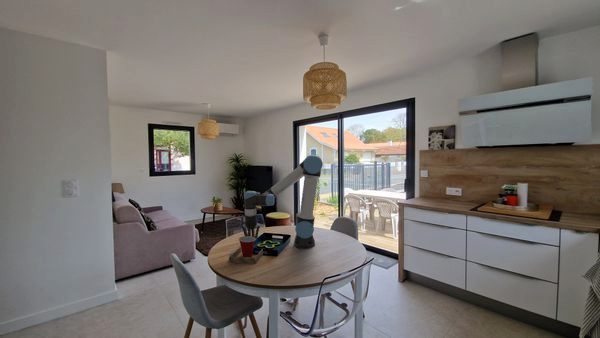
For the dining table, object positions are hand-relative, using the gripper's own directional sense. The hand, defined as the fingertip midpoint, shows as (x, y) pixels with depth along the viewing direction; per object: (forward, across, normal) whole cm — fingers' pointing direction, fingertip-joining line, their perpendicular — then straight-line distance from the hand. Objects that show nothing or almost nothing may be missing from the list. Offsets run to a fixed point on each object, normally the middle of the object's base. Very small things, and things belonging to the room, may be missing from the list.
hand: (251, 249), depth 163 cm
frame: (+2, 0, +7) cm, 8 cm away
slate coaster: (+2, +11, +3) cm, 12 cm away
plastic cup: (+2, 0, +6) cm, 7 cm away
